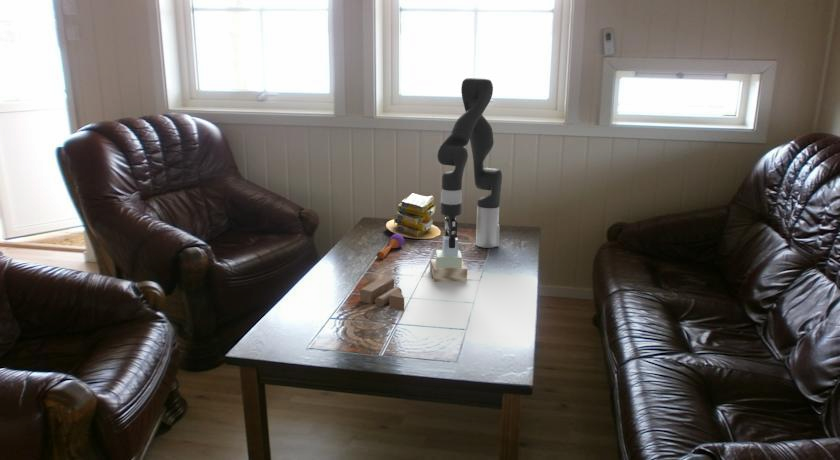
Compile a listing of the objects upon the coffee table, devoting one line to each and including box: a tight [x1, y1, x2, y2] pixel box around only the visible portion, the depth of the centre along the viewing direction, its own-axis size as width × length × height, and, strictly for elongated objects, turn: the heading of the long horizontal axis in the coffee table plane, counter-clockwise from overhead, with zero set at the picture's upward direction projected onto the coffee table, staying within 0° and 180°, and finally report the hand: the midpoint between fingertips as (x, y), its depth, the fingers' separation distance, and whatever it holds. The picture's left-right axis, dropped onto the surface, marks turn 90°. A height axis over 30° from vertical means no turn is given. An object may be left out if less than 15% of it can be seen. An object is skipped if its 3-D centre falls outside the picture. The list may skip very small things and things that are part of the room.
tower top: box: [435, 249, 463, 268], centre depth 242 cm, size 9×9×4 cm
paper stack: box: [385, 192, 441, 240], centre depth 297 cm, size 25×25×17 cm
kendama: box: [376, 233, 405, 260], centre depth 270 cm, size 6×6×20 cm
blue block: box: [441, 235, 459, 256], centre depth 240 cm, size 5×5×6 cm
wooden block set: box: [359, 275, 405, 312], centre depth 221 cm, size 17×6×18 cm
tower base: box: [429, 258, 468, 283], centre depth 243 cm, size 12×12×5 cm
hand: (450, 244), depth 240 cm, fingers open, 8 cm apart
